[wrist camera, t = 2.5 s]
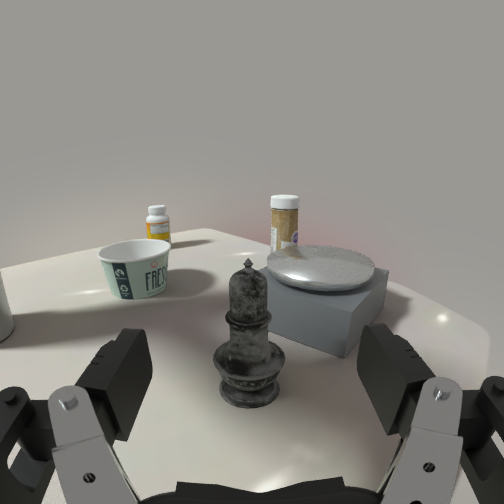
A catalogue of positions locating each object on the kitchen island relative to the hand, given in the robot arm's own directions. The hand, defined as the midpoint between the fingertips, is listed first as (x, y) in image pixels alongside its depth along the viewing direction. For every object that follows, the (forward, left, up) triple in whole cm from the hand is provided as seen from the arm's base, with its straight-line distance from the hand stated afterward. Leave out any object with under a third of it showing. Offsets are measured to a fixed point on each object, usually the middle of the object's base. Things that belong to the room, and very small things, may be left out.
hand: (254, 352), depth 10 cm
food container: (-35, +15, -12) cm, 40 cm away
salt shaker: (-7, +9, -12) cm, 17 cm away
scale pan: (-9, +25, -7) cm, 27 cm away
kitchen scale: (-9, +25, -12) cm, 29 cm away
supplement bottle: (-52, +31, -12) cm, 62 cm away
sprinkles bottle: (-21, +34, -12) cm, 42 cm away
